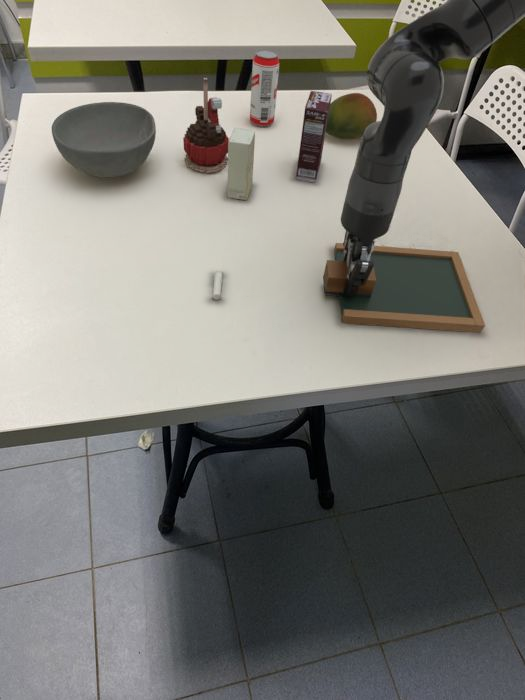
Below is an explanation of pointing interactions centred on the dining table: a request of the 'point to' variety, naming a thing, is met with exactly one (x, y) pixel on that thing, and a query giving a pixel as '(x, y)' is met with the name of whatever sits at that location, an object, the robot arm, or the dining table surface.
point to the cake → (206, 137)
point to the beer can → (264, 87)
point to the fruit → (350, 116)
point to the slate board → (415, 292)
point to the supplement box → (313, 135)
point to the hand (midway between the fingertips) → (347, 284)
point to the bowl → (105, 137)
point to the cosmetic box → (240, 163)
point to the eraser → (344, 280)
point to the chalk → (217, 285)
